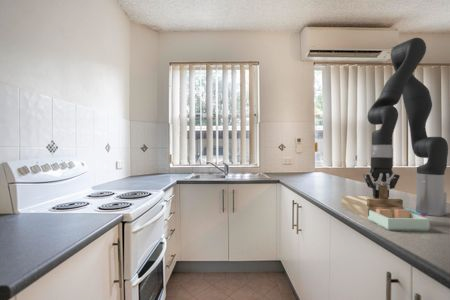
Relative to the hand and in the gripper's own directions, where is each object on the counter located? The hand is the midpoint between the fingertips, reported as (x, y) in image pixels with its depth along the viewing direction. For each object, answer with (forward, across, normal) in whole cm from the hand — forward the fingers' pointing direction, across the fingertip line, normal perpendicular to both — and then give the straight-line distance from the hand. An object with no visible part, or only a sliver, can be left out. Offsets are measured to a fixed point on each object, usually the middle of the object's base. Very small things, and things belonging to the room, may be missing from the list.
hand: (380, 198), depth 98 cm
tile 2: (+5, -4, +6) cm, 9 cm away
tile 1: (+5, +3, +6) cm, 8 cm away
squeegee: (+9, -16, -18) cm, 26 cm away
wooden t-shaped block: (+3, 0, 0) cm, 3 cm away
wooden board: (+8, 0, -8) cm, 11 cm away
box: (+8, 0, +9) cm, 12 cm away
